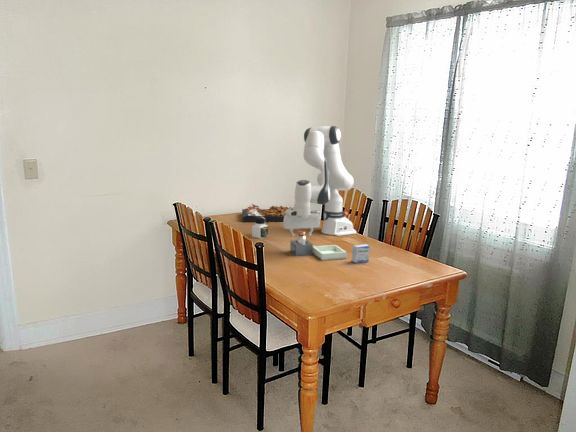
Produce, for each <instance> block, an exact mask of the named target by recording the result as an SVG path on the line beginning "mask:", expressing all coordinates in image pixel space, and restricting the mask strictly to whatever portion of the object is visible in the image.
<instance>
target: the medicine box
mask: <svg viewBox="0 0 576 432" xmlns="http://www.w3.org/2000/svg"><path fill="white" fill-rule="evenodd" d="M351 247H352V248H351V249H352V251H351V262H353V263H356V264H361V263H367V262H369V260H370V259H369V258H370V245H369V244H366V243H363V244H355V245H352V246H351Z"/></svg>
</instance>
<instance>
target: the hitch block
mask: <svg viewBox="0 0 576 432" xmlns="http://www.w3.org/2000/svg"><path fill="white" fill-rule="evenodd" d="M289 242H290V243H289V244H290V245H289V247H290V248H289V249H290V250H289V251H290V252H291V253H292V254H293V255H294V256H295V257H302V256H303V257H304V256H313V253H312V252H313V246H314V244H313V243H312V242H311V241H309V240H308V239H306V244H298V243H297V242H298V239H294V240H293V239H292V240H290V241H289Z"/></svg>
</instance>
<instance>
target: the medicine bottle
mask: <svg viewBox="0 0 576 432" xmlns="http://www.w3.org/2000/svg"><path fill="white" fill-rule="evenodd" d="M268 237H269V225H267V224H266V222H265V218H264V217H257V218H255V222H254V224H253V225H251V238H254V239H260V240H261V239H265V238H268Z"/></svg>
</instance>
